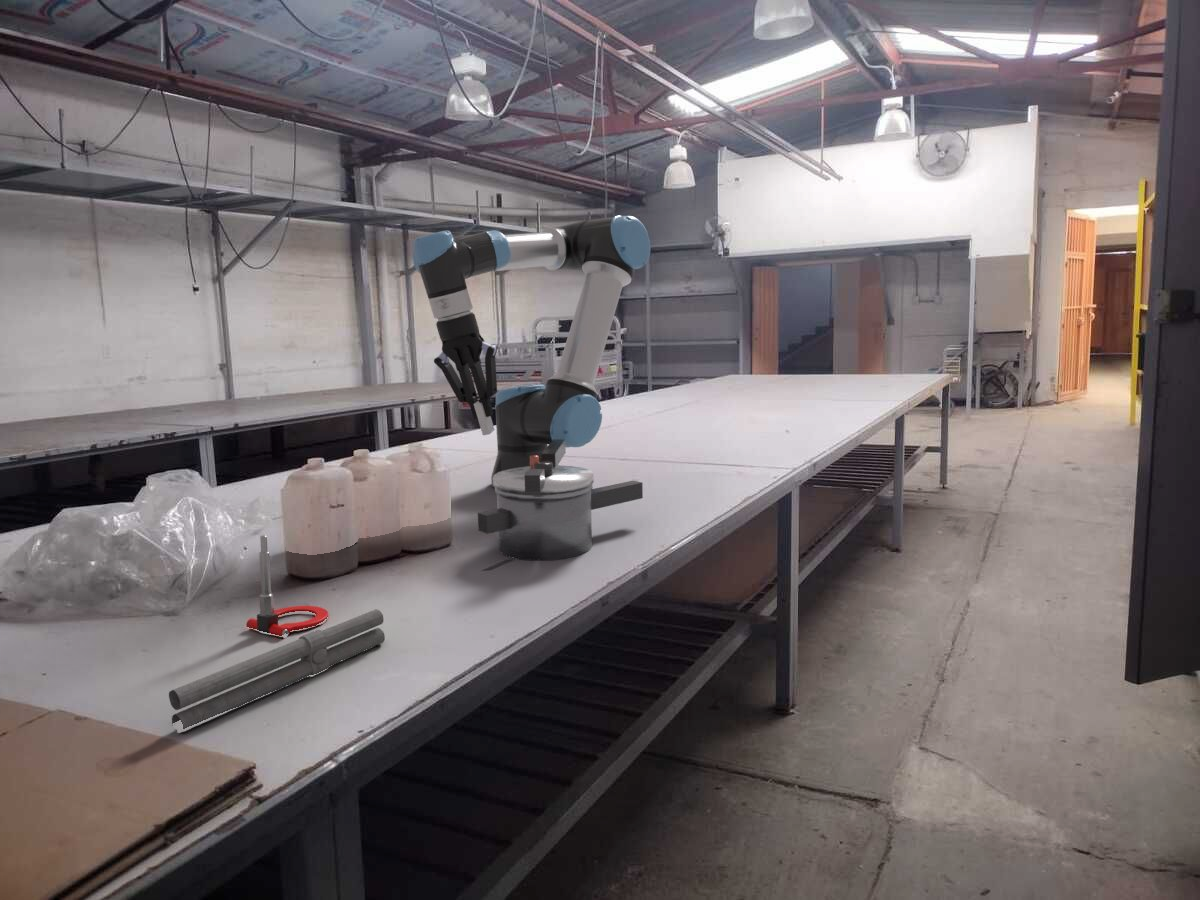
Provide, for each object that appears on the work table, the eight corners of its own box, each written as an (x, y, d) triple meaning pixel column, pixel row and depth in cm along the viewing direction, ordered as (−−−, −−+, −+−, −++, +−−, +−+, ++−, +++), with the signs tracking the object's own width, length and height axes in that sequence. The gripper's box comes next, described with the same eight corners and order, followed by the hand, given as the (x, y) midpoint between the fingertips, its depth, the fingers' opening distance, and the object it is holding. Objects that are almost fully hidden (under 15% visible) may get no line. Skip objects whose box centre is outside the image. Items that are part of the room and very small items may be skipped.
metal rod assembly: (186, 740, 78) (180, 691, 77) (171, 732, 80) (165, 684, 79) (390, 646, 99) (388, 607, 98) (375, 641, 101) (372, 603, 100)
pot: (507, 521, 156) (505, 465, 154) (643, 521, 154) (642, 464, 152) (477, 563, 130) (474, 497, 128) (640, 564, 128) (639, 496, 126)
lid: (587, 498, 125) (586, 473, 124) (478, 498, 126) (477, 474, 125) (602, 457, 159) (602, 437, 158) (517, 458, 160) (516, 438, 160)
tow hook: (298, 609, 113) (241, 630, 105) (295, 519, 111) (236, 533, 103) (342, 620, 109) (285, 642, 101) (338, 526, 107) (280, 541, 99)
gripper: (415, 326, 151) (451, 444, 158) (477, 312, 147) (512, 433, 154) (432, 319, 158) (466, 431, 164) (492, 305, 154) (525, 421, 161)
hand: (488, 432), depth 159 cm, fingers closed
